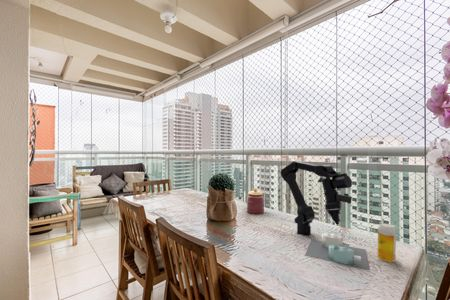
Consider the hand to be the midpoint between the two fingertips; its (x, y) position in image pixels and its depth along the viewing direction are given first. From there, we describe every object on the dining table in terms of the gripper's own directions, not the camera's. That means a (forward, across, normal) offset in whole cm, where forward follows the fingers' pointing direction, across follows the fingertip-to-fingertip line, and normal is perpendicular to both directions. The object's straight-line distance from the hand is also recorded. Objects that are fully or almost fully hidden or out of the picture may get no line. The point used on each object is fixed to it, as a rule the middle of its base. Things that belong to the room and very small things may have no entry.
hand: (338, 222), depth 105 cm
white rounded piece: (+11, +1, +4) cm, 12 cm away
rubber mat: (+12, -5, +3) cm, 14 cm away
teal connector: (+14, -12, 0) cm, 18 cm away
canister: (-6, +38, +56) cm, 69 cm away
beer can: (+16, -1, -15) cm, 22 cm away
